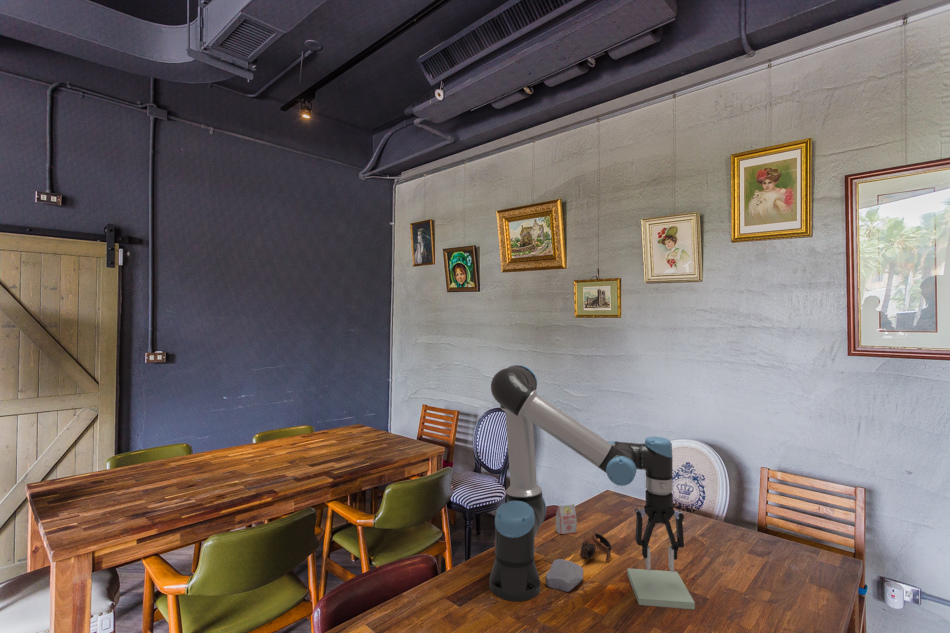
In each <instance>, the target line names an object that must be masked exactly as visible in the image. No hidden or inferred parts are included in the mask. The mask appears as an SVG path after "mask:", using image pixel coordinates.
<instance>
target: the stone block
mask: <svg viewBox="0 0 950 633" xmlns="http://www.w3.org/2000/svg"><path fill="white" fill-rule="evenodd" d="M583 579H584V568H583V567H582V566H581V565H580V564H578V563H576V562H573V561H571V560H566V559H561V558H559V559H554V560H553V562H552V564H551V566H550V569H549V570H548V571H547V572H546V574H545V585H546V587H547V588H551V589H553V590H554V589H555V590H560V591H562V592H567V593H568V592H571V591H572V590H574V588H576V587H577V586H579V584H580V583H581V582H583V581H584V580H583Z"/></svg>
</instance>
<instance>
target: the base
mask: <svg viewBox="0 0 950 633" xmlns="http://www.w3.org/2000/svg"><path fill="white" fill-rule="evenodd" d="M626 573H627V574H626V576H627V577H628V580H629V582H630V585H631V589H632V591H633V593H634V595H635V598H636V601H637V604H638V606H647V607H648V606H651V607H661V608H671V609H672V608H673V609H683V610H695V609H696V602H695V601H694V598H693V596H692V595H691V594H690V591H689V590H688V588H687V586H686V585H685V583H684V581H683V579H682V578H681V576H680V574H679V573H678V571H675V570H674V572H671V571H670V570H656V569H650V571H648V570H647V569H641V568H629V567H628V568H627V570H626Z"/></svg>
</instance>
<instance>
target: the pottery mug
mask: <svg viewBox="0 0 950 633" xmlns="http://www.w3.org/2000/svg"><path fill="white" fill-rule="evenodd" d="M612 549H613V546H612V544H611V542H610V541H609V540H608V539H607V538H606V537H605V536H603V534H602V535H601V534H600V533H598V532H594V533H592V535H589V536H586V538H584V539H583V542H582V545H581V548H580V552H579V553H580V557H581V558H582V559H587V560H592V558H593V556H594V555H595V553H596V552H597V551H596V550H599V551H601V552H603V553H605V554H606V557H605V560H606V562H608V561H609V559H610V558H611V556H612V552H611V551H612Z"/></svg>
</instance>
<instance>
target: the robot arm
mask: <svg viewBox="0 0 950 633" xmlns="http://www.w3.org/2000/svg"><path fill="white" fill-rule="evenodd" d="M537 386H538V379H537V376H536V374H535V372H534V371H533V370H532V369H531V368H529V367H528V366H525V365H523V364H521V365H520V364H514V365H510V366H508V367H506V368H502V369H500V370H499V371H497V372H496V373H495V374H494V376H493V377H492V379H491V383H490V390H491V394H492V396H493V399H495V401H496V402H497V403H498V404H499V405H500V409H501V410H502V411H503V412H504V413H505V423H506V424H505V425H506V439H507V440H506V441H507V452H508V453H507V454H508V467H509V481H510V485H509V486H508V488H507V489H506V491H505V492H506V502H503V503H501V504H500V505H499V506H498V507H497V508H496V510H495V517H494V526H495V527H494V528H495V529H494V530H495V531H494V532H495V534H494V535H495V538H494V544H495V545H494V548H495V550H494V553H495V554H494V562H493V566H492V569H491V570H490V574H489V578H488V579H489V581H488V582H489V583H488V586H489V587H488V588H489V590H490V591H491V593H492V594H493V595H494V596H496V597H497V598H499V599H502V600H504V601H505V600H506V601H508V602H524V601H529V600H531V599H533V598H535V597H536V596H537V595H538V594H539V593H540V591H541V579H540V575H539V573H538V569H537V566H536V563H535V538H536V535H537V533H538V531H539V529H540V528H541V526H542V525H543V523H544V521H545V519H546V515H547V504H546V501H545V499H544V497H543V491H542V487H541V486H539V485H538V482H537V470H536V457H535V456H536V454H535V443H534V441H535V440H534V430H533V429H534V427H533V424H534V425H535V426H537V427H538V428H540V429H541V430H543V431H544V432H545V433H546V434H548V435H550V436H551V437H553V438H555V439H556V440H557V441H559V442H560V443H561V444H563V445H565V446H566V447H567V448H568V449H571V450H572V451H574V452H575V453H576V454H578V455H579V456H581V457H583V459H585V460H587V461H588V462H589V463H591V464H592V465H594V466H595V467H597V468H598V469H600V470H601V471H603V472H604V473H606V476H607V477H608V479H609V481H610V482H612V483H613V485H617V486H621V487H623V486H624V487H625V486H628V485H630V484H631V483H633V481H634V479H635V476H636V473H637V470H641V471H642V470H643V471H644V470H645V477H644V478H645V489H646V490H645V505H644V507H643V508H642V509H638V508H635V510H634V512H635V516H636V519H635V520H636V522H635V524H636V525H635V537H634V538H635V542H636V545H638V546H639V547H640V546H641V555H642V557H643V559H645V568H646V570H648V571H650V570H651V548H650V546H649V544H650V540H651V537H652V534H653V530H654V528H655V526H656V524H658V525H659V524H662V525H664V526H665V530H666V533H667V535H668V538H669V539H668V540H669V541H670V545H668V546H667V547H668V550H667V551H668V570H669V571H671V572H674V571H675V561H676V560H678V551H679V549H680V548H684V547H685V541H684V540H685V539H684V525H683V521H684V518H685V514H683V512H682V511H681V510H675V508H674V503H673V502H674V499H673V496H674V494H673V493H672V492H673V489H674V488H673V487H674V486H673V458H674V457H673V445H672V441H671V440H670V439H669V438H666V437H662V436H648V437H645V440H644V443H637V442H636V443H635V442H624V441H617V440H615V441H611V440H610V441H607V440H605V439H604V438H603V437H601V436H599V434H596V433H595V432H594V431H592V430H591V429H589V428H588V427H587V426H585V425H583V424H582V423H580V422H578V421H577V420H576V419H574V418H573V417H571V416H570V415H568V414H567V413H565V412H563V411H562V410H561V409H559V408H557V407H556V406H554V405H553V404H551V403H550V402H549V401H547V400H545V399H544V398H542V397H540V396H539V395H538V393H537V388H538V387H537ZM645 514H646V516H647V517H648V519H647V524H646V527H645V530H644V533H643V520H644V519H643V518H644V517H645ZM673 517H674V518H675V529H676V530H675V532H676V538H675V536H674V532H673V529H672V525H671V522H670V520H671V519H672V518H673Z"/></svg>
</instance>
